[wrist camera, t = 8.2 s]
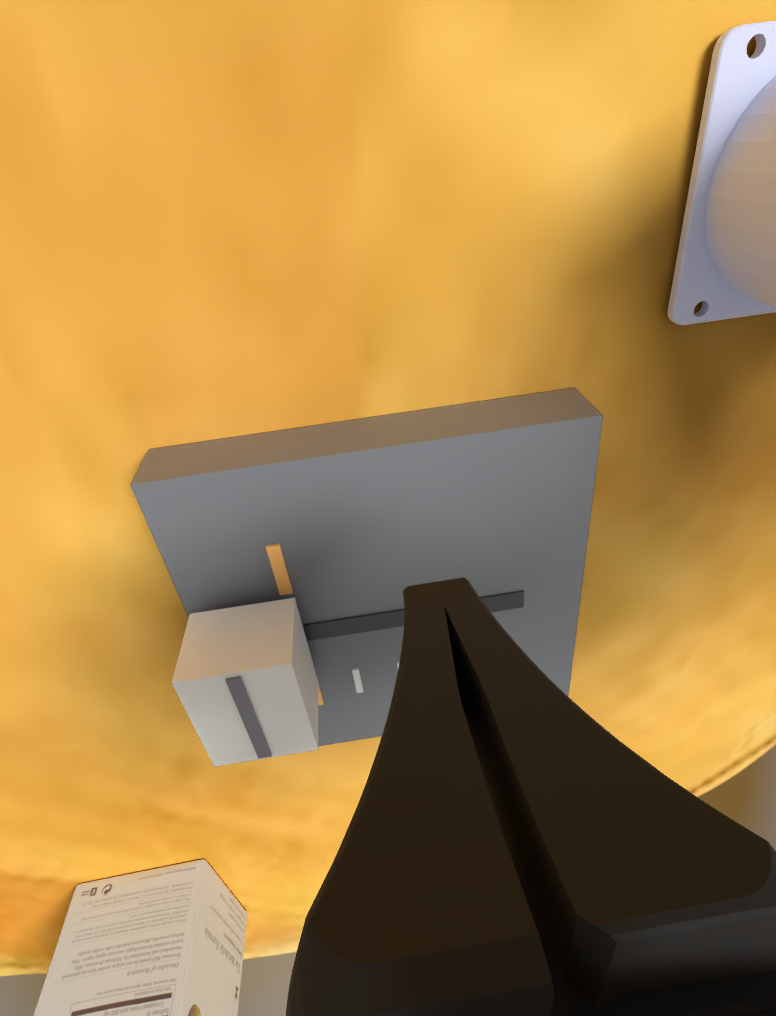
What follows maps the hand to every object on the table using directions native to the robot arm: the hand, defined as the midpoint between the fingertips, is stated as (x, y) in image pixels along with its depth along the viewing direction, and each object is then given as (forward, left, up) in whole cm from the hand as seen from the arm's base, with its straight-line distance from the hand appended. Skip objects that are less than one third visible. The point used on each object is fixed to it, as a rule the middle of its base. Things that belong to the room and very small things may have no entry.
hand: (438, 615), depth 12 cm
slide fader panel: (+1, +8, -10) cm, 13 cm away
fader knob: (+6, +8, -8) cm, 13 cm away
